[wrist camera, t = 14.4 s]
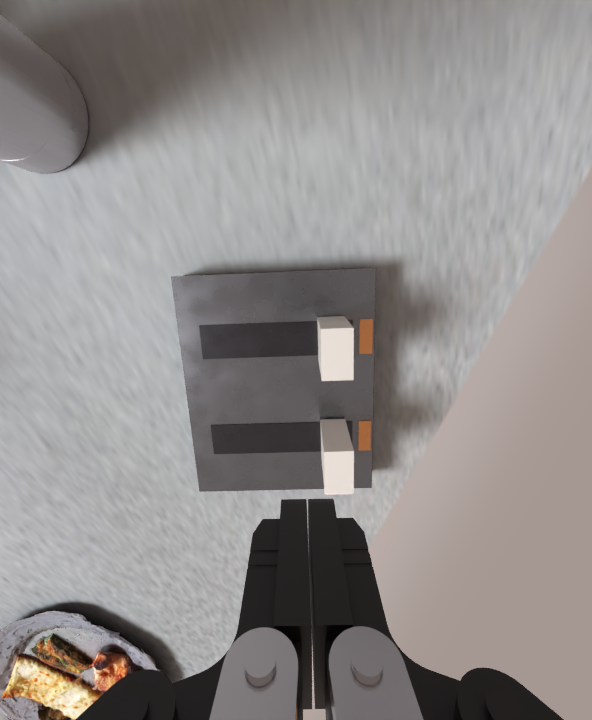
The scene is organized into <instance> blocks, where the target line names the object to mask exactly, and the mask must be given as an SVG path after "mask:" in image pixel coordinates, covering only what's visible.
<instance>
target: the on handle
mask: <svg viewBox="0 0 592 720" xmlns="http://www.w3.org/2000/svg"><path fill="white" fill-rule="evenodd" d="M317 325H318V361H319V367H320V374H321V380H322V381H343V380H354V327H353V326H352V325H351V324H350V323H349V321H348V320H347V319H346V318H345V316H331V317H317Z"/></svg>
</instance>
